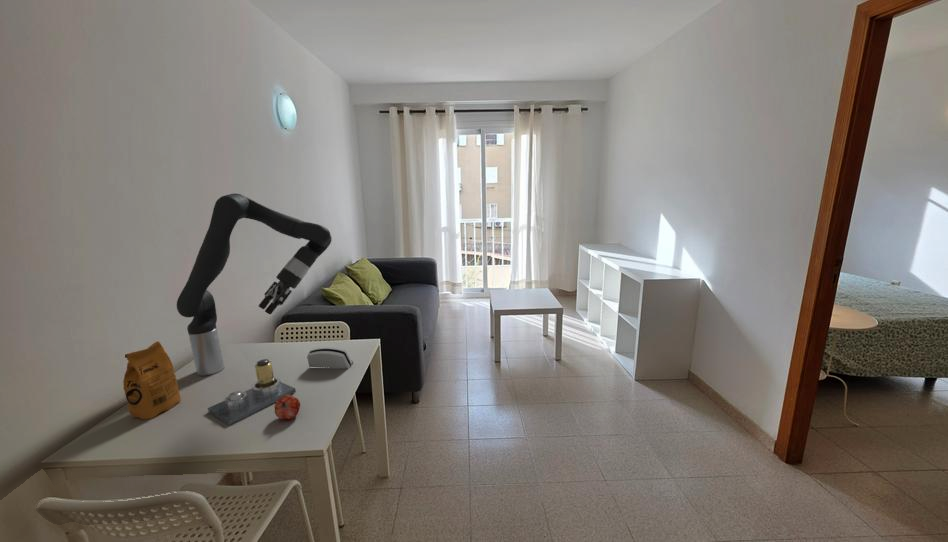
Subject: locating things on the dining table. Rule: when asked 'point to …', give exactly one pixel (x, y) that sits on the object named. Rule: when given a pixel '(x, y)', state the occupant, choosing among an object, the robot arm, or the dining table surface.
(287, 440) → the dining table surface
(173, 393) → the coffee package
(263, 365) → the gold and black cylinder
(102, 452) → the dining table surface
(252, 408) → the fitting plate
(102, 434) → the dining table surface
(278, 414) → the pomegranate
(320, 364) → the grey rounded block
